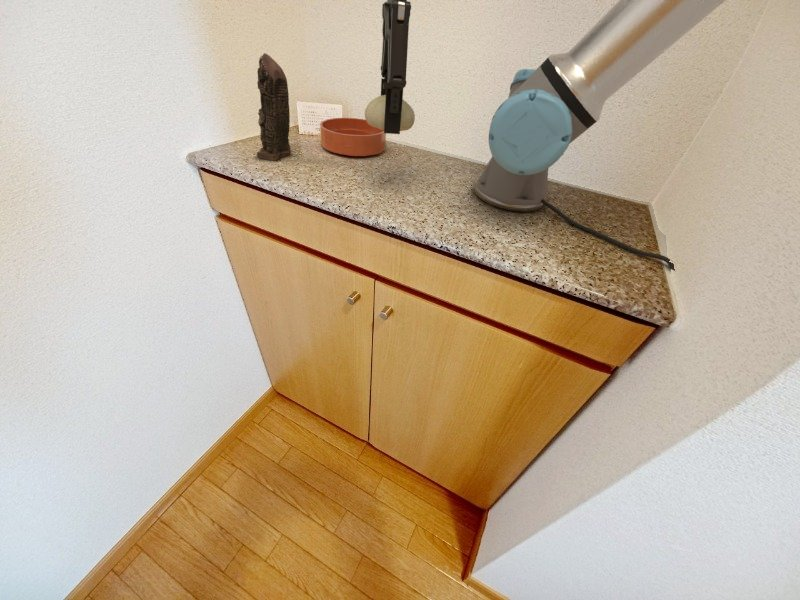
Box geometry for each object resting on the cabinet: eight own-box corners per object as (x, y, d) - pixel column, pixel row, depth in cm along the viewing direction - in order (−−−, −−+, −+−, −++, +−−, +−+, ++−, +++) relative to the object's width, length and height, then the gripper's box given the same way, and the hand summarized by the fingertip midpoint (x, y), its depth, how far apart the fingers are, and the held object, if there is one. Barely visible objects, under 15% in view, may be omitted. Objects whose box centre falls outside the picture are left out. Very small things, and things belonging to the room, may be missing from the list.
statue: (269, 149, 81) (252, 49, 67) (296, 153, 80) (285, 54, 67) (256, 158, 75) (235, 51, 62) (285, 162, 75) (270, 56, 62)
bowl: (397, 151, 89) (399, 129, 86) (353, 163, 79) (353, 139, 75) (353, 135, 97) (353, 115, 93) (307, 145, 86) (305, 122, 82)
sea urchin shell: (416, 111, 63) (419, 81, 55) (411, 150, 62) (413, 125, 54) (369, 105, 63) (365, 74, 55) (364, 144, 62) (359, 118, 54)
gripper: (369, -45, 52) (366, 110, 67) (378, -71, 36) (372, 142, 51) (414, -39, 54) (401, 113, 68) (442, -61, 37) (418, 144, 52)
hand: (389, 125), depth 60 cm, fingers closed on sea urchin shell, 9 cm apart
